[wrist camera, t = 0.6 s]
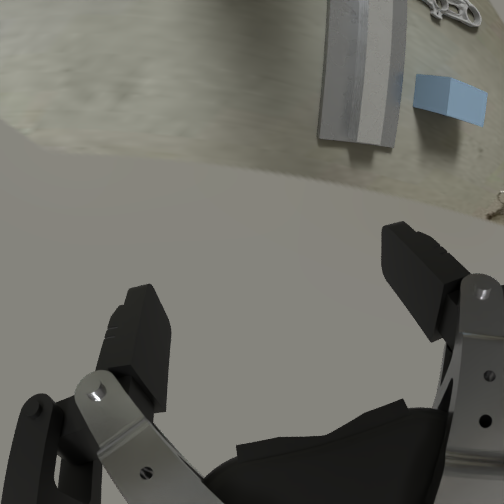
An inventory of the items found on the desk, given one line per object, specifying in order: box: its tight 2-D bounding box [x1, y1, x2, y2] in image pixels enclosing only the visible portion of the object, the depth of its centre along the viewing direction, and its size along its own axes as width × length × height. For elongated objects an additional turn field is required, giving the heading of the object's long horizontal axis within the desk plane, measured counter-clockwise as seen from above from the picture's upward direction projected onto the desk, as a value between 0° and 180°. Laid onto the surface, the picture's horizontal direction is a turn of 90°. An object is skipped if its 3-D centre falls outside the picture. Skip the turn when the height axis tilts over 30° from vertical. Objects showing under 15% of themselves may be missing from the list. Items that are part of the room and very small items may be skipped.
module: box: [413, 74, 488, 127], centre depth 30 cm, size 4×7×7 cm
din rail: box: [317, 0, 407, 148], centre depth 29 cm, size 20×10×4 cm, turn 177°
